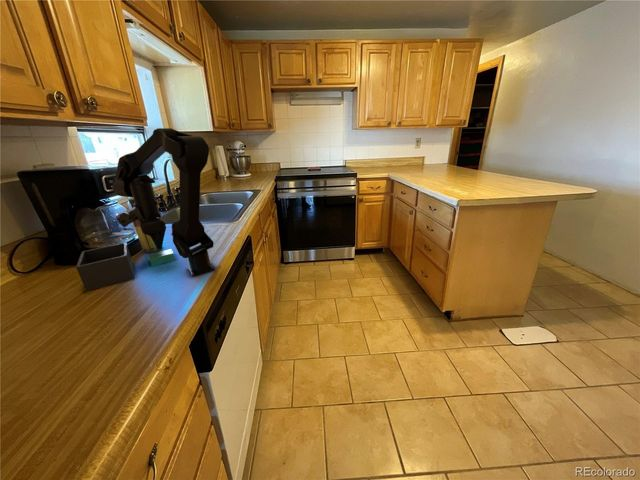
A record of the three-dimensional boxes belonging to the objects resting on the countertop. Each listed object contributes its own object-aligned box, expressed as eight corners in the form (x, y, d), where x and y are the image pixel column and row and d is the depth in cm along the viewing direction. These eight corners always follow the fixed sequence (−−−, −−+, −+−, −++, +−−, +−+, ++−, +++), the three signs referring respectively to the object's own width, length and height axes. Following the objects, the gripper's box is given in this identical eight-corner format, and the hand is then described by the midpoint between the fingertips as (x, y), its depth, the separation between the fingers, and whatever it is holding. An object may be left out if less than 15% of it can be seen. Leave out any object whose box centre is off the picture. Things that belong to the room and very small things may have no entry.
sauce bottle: (164, 245, 102) (149, 194, 95) (160, 251, 97) (145, 198, 89) (145, 248, 100) (128, 196, 93) (140, 254, 95) (122, 200, 87)
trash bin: (134, 278, 79) (126, 255, 76) (86, 291, 73) (75, 267, 70) (133, 262, 89) (126, 242, 86) (90, 273, 83) (81, 251, 80)
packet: (173, 255, 93) (171, 248, 92) (175, 259, 89) (173, 253, 89) (150, 260, 90) (148, 254, 89) (151, 266, 86) (149, 259, 85)
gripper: (113, 197, 85) (128, 242, 90) (111, 208, 70) (129, 261, 76) (153, 192, 90) (165, 235, 96) (159, 201, 76) (172, 251, 82)
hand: (158, 244), depth 87 cm, fingers open, 9 cm apart
